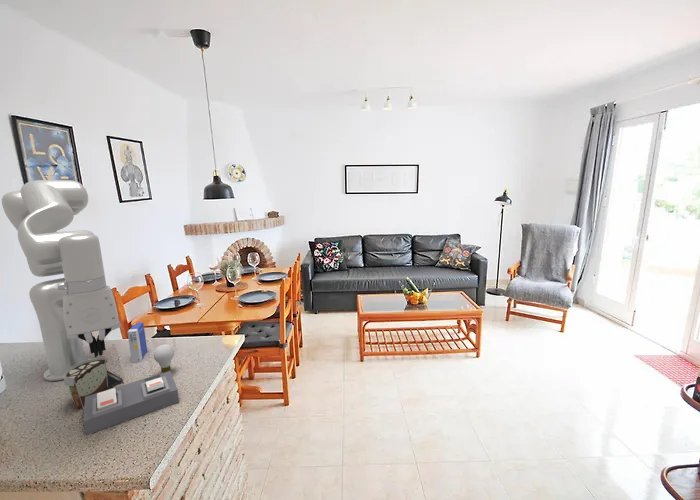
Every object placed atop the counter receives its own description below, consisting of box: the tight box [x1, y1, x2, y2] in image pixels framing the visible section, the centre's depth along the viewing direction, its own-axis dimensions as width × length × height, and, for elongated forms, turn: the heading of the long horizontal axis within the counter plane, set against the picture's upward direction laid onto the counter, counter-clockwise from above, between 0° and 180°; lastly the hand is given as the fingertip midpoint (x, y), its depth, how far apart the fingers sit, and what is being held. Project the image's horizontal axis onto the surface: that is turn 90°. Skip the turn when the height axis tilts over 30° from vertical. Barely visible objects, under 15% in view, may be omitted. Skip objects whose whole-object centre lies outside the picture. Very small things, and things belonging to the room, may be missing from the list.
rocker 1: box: [97, 387, 117, 411], centre depth 87 cm, size 6×4×1 cm
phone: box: [103, 370, 124, 391], centre depth 104 cm, size 8×1×15 cm
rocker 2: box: [146, 377, 164, 392], centre depth 93 cm, size 6×4×1 cm
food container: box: [63, 356, 109, 410], centre depth 95 cm, size 12×6×10 cm, turn 178°
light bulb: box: [153, 343, 175, 374], centre depth 108 cm, size 6×6×10 cm
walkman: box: [127, 322, 148, 363], centre depth 118 cm, size 8×3×12 cm, turn 15°
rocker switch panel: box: [82, 370, 180, 436], centre depth 92 cm, size 12×21×5 cm, turn 127°
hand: (98, 354), depth 83 cm, fingers closed
